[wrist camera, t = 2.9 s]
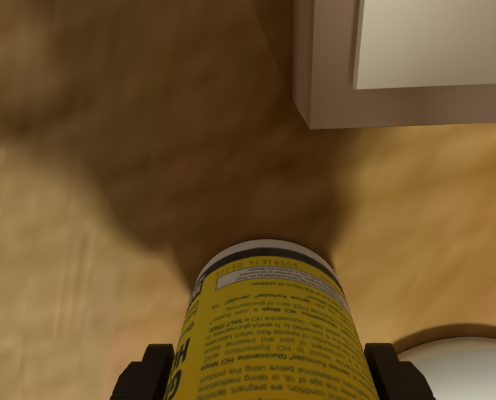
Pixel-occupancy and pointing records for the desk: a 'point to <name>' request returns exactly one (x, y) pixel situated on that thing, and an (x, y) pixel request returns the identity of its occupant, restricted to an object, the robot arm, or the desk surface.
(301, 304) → the pill bottle
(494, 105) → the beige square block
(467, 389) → the pale white disc
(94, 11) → the desk surface
